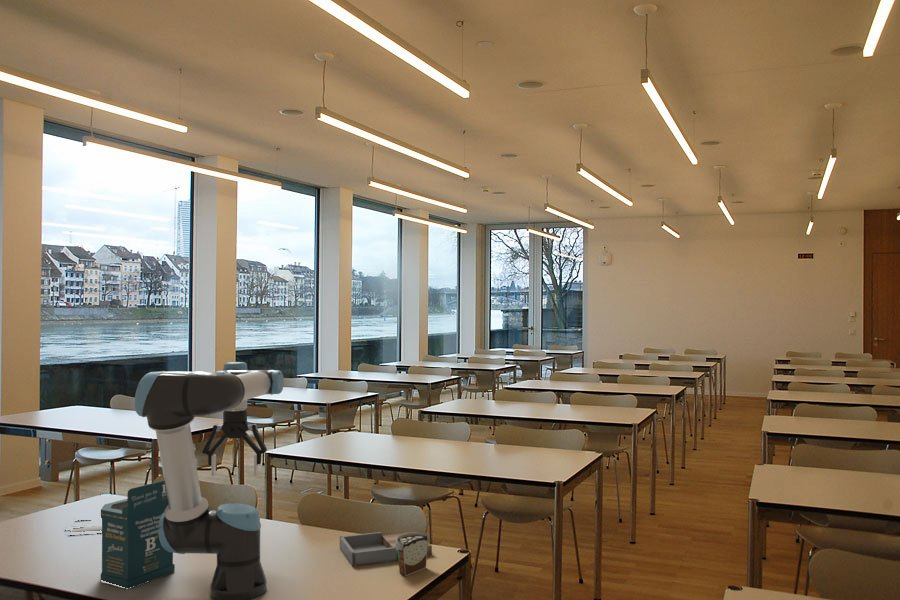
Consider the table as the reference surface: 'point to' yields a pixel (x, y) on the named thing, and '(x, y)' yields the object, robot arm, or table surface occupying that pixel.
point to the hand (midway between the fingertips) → (234, 475)
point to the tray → (366, 549)
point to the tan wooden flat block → (391, 541)
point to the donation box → (135, 537)
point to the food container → (412, 552)
